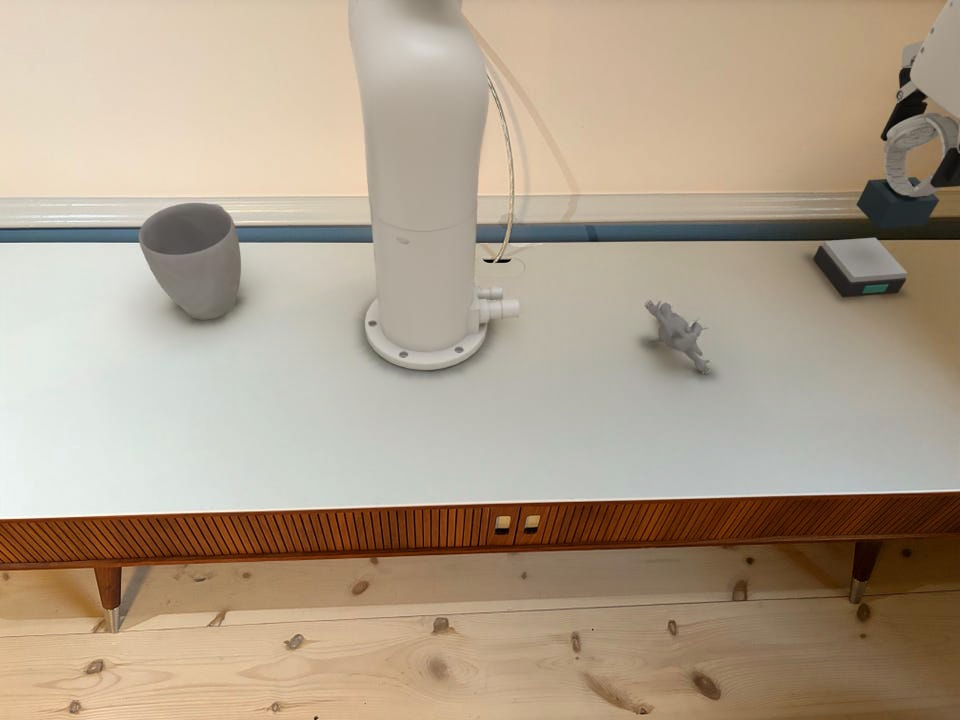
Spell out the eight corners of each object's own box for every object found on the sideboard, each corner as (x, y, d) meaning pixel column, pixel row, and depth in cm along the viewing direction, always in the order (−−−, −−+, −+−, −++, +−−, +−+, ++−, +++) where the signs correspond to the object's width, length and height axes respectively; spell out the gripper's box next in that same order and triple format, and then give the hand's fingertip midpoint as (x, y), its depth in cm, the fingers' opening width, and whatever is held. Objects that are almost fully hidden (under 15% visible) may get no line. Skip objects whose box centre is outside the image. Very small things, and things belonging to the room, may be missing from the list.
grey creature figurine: (720, 329, 75) (738, 366, 66) (674, 361, 77) (686, 401, 69) (663, 261, 72) (675, 291, 64) (617, 296, 74) (622, 329, 66)
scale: (865, 255, 85) (876, 236, 82) (899, 293, 80) (911, 274, 78) (812, 259, 84) (822, 240, 82) (843, 298, 79) (853, 279, 77)
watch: (891, 191, 79) (942, 98, 71) (934, 234, 73) (994, 138, 65) (846, 194, 78) (892, 100, 70) (885, 238, 72) (940, 141, 64)
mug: (238, 334, 71) (216, 259, 64) (152, 327, 71) (121, 252, 64) (271, 261, 79) (254, 187, 72) (194, 255, 79) (170, 181, 72)
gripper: (1143, 13, 53) (1008, 208, 66) (993, -59, 65) (903, 118, 77) (1057, 16, 52) (936, 213, 64) (920, -58, 64) (841, 121, 76)
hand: (918, 160), depth 71 cm, fingers closed on watch, 8 cm apart
